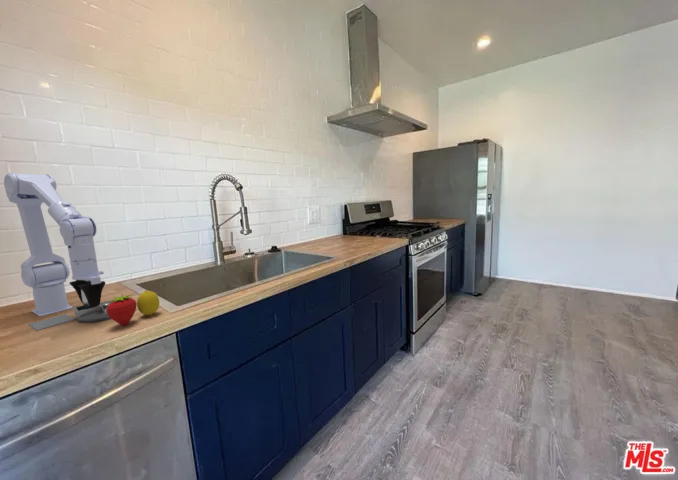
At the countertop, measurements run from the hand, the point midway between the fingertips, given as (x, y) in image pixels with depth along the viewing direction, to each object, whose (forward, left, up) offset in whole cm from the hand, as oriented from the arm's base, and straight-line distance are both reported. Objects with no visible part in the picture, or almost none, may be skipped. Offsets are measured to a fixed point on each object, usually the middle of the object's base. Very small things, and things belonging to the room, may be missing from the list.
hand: (91, 304), depth 85 cm
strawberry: (+15, +2, -5) cm, 16 cm away
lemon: (+14, +9, -5) cm, 17 cm away
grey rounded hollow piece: (-1, +4, -4) cm, 6 cm away
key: (-1, 0, -2) cm, 2 cm away
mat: (-8, -7, -5) cm, 12 cm away
